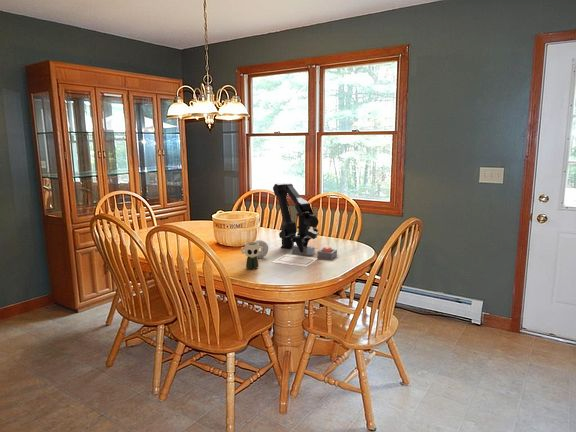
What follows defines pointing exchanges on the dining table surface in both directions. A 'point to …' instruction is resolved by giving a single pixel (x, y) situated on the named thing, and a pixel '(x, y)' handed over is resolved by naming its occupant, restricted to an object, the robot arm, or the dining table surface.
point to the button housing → (326, 254)
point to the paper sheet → (295, 260)
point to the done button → (327, 249)
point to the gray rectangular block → (304, 250)
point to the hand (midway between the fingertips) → (303, 251)
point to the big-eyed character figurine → (252, 254)
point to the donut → (265, 248)
